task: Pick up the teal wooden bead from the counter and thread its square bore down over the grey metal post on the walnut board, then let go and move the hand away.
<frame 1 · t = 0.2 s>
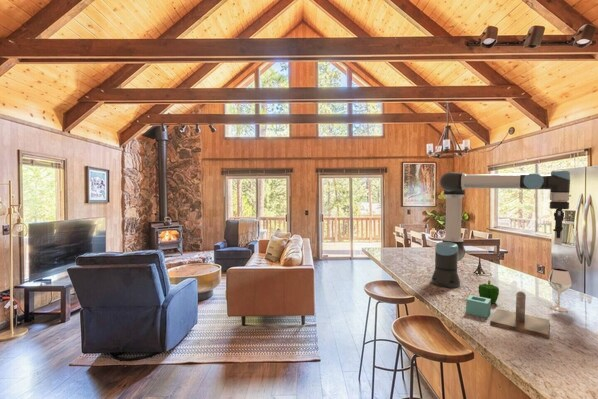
hand: (557, 243, 157), 28 cm above the countertop, tool pointing down, fingers open, 13 cm apart
eiffel tower figurine: (479, 274, 205), on the countertop
bell pepper: (488, 302, 150), on the countertop
bead: (478, 312, 135), on the countertop
wineglass: (558, 309, 142), on the countertop
post board: (520, 324, 124), on the countertop
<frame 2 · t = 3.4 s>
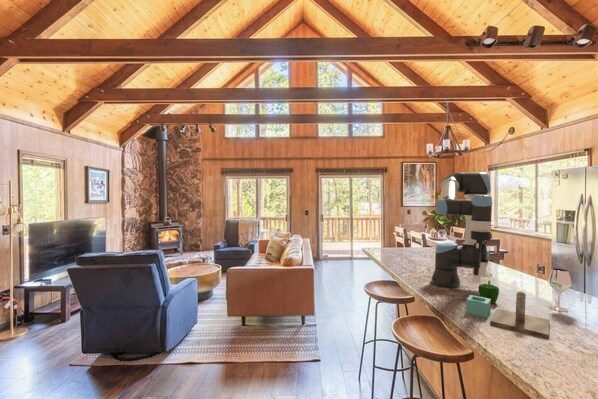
hand: (479, 279, 135), 14 cm above the countertop, tool pointing down, fingers open, 13 cm apart
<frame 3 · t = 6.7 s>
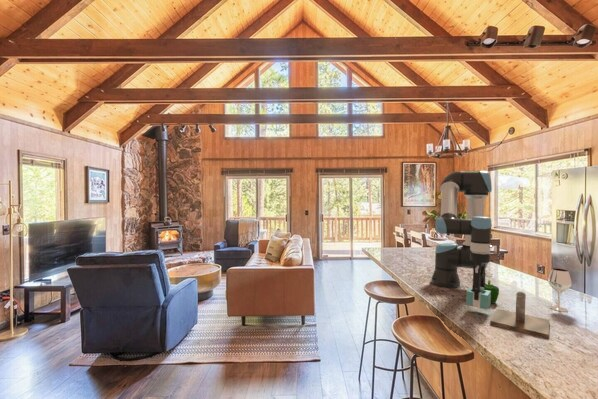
hand: (478, 304, 135), 4 cm above the countertop, tool pointing down, fingers closed on bead, 8 cm apart
bead: (478, 304, 135), point 3 cm above the countertop, touching gripper
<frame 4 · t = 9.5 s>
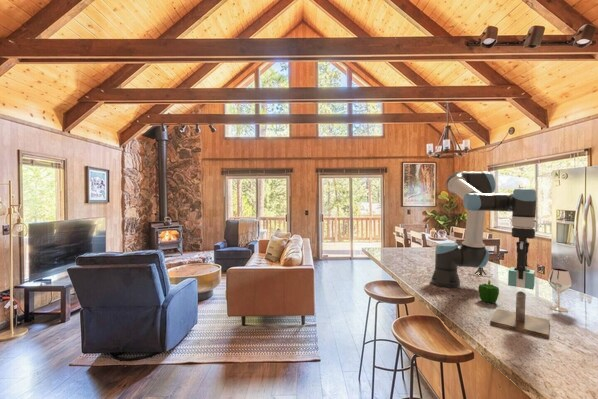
hand: (521, 284, 124), 16 cm above the countertop, tool pointing down, fingers closed on bead, 8 cm apart
bead: (521, 285, 124), point 16 cm above the countertop, touching gripper
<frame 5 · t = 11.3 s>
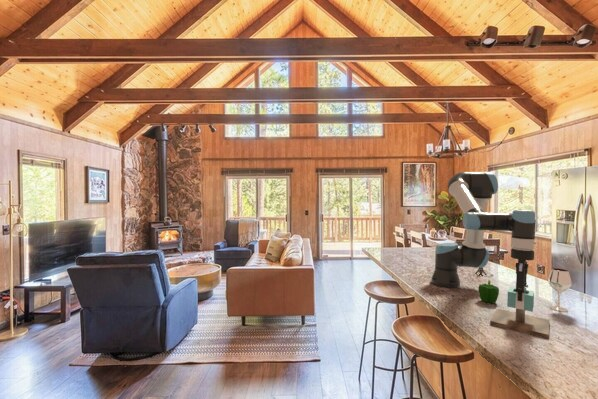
hand: (520, 305, 124), 7 cm above the countertop, tool pointing down, fingers closed on bead, 8 cm apart
bead: (520, 306, 124), point 7 cm above the countertop, touching gripper
when the fingers open (4 cm above the countertop, at t = 12.6 s): bead drops 2 cm, resting on post board.
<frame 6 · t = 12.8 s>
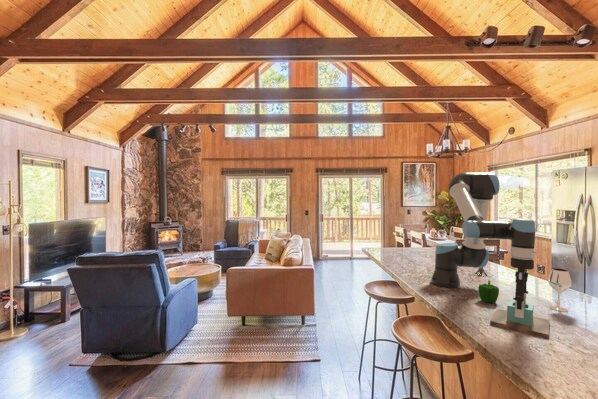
hand: (520, 313, 124), 4 cm above the countertop, tool pointing down, fingers open, 10 cm apart
bead: (520, 320, 124), point 1 cm above the countertop, touching post board
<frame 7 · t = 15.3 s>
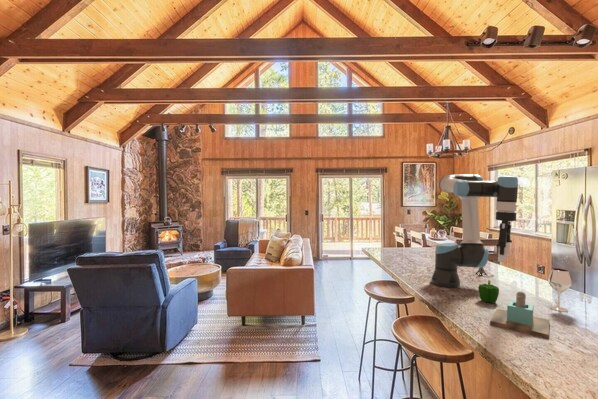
hand: (503, 259, 138), 23 cm above the countertop, tool pointing down, fingers open, 13 cm apart
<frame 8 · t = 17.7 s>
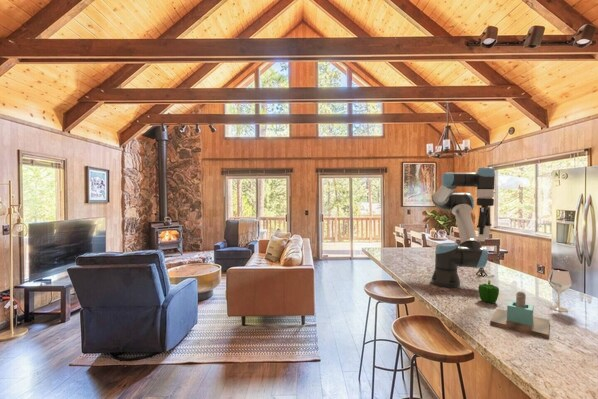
hand: (483, 239, 158), 29 cm above the countertop, tool pointing down, fingers open, 13 cm apart
at the end: bead 0.0 cm off-centre on the post board, point 1.5 cm above the post board's base; the gripper is holding nothing; bead tilted 0° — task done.
